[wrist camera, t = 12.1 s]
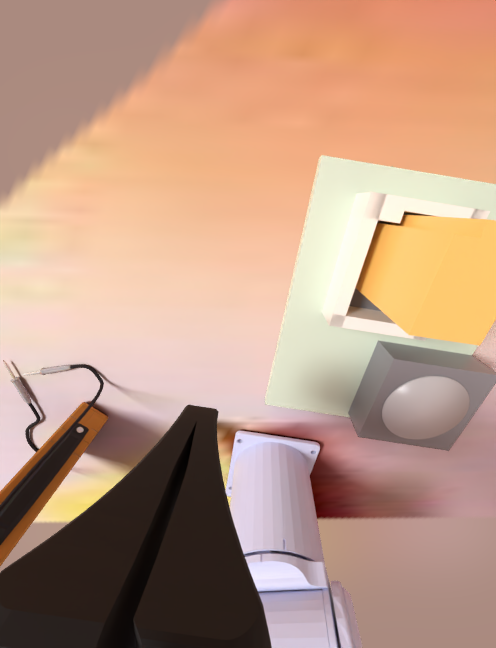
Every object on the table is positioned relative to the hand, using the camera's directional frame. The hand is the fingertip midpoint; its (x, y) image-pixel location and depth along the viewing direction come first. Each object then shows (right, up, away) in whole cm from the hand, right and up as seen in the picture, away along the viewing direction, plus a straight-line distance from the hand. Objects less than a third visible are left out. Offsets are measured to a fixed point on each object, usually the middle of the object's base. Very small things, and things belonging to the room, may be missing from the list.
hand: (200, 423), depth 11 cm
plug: (+11, +8, +5) cm, 15 cm away
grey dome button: (+15, 0, +10) cm, 17 cm away
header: (+11, +8, +6) cm, 15 cm away
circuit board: (+12, +5, +7) cm, 15 cm away
